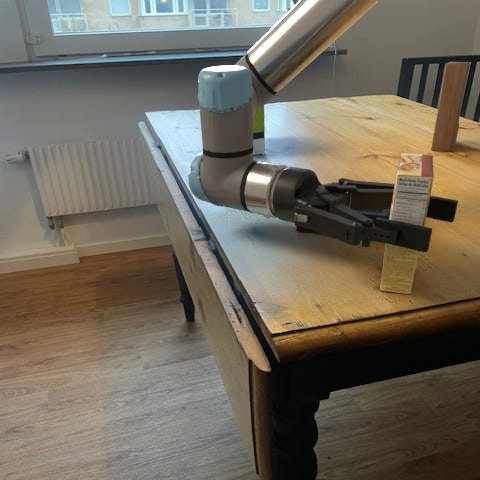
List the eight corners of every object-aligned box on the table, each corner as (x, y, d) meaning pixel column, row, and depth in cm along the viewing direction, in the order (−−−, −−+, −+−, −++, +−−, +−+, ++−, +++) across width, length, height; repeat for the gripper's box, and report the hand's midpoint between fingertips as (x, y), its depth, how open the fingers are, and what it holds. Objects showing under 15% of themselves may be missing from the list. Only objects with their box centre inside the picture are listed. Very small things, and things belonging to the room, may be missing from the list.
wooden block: (436, 140, 123) (451, 58, 113) (455, 142, 121) (472, 59, 111) (430, 150, 116) (445, 64, 106) (450, 152, 114) (468, 64, 104)
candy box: (383, 261, 71) (398, 152, 63) (414, 264, 70) (433, 153, 62) (378, 291, 64) (395, 173, 56) (413, 295, 63) (435, 176, 55)
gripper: (319, 195, 81) (462, 223, 70) (240, 245, 66) (405, 291, 55) (321, 147, 77) (474, 169, 66) (238, 190, 62) (416, 228, 51)
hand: (442, 225), depth 60 cm, fingers closed on candy box, 9 cm apart
